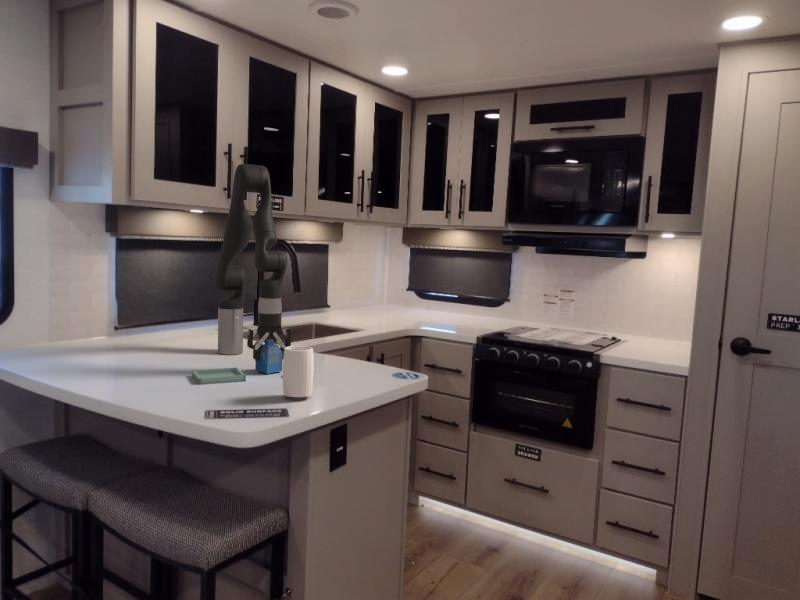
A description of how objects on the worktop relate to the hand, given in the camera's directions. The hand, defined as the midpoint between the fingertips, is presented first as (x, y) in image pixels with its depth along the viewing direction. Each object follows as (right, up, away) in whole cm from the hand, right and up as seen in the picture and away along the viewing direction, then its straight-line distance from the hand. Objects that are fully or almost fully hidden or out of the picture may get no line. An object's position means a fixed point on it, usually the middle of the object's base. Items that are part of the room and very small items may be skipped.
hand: (268, 359), depth 198 cm
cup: (+15, -8, -30) cm, 34 cm away
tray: (-13, -5, -11) cm, 18 cm away
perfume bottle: (0, -4, 0) cm, 4 cm away
